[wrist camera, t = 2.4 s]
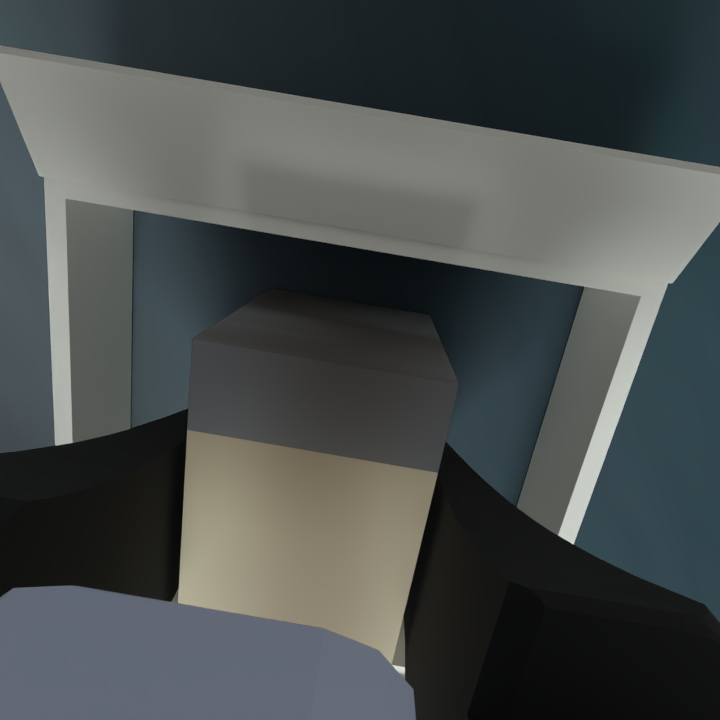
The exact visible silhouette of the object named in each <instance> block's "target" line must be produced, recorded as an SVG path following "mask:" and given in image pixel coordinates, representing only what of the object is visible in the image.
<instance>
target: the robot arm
mask: <svg viewBox="0 0 720 720" xmlns="http://www.w3.org/2000/svg"><path fill="white" fill-rule="evenodd" d="M187 425H188V409H186V410H183V411H180V412H178V413H175V414H172V415H170V416H167V417H164V418H161V419H158V420H155V421H152V422H149V423H146V424H143V425H140V426H137V427H134V428H131V429H128V430H124V431H121V432H117V433H114V434H110V435H106V436H102V437H97V438H93V439H89V440H84V441H80V442H75V443H69V444H63V445H57V446H50V447H44V448H38V449H31V450H25V451H17V452H8V453H0V720H720V623H719V622H718V620H717V619H716V618H715V617H714V615H713V614H712V613H711V612H710V610H709V609H708V608H707V607H706V606H705V605H704V604H702V603H699V602H697V601H694V600H692V599H690V598H687V597H685V596H682V595H680V594H677V593H675V592H672V591H670V590H668V589H665V588H663V587H660V586H658V585H655V584H653V583H650V582H648V581H646V580H643V579H641V578H638V577H636V576H634V575H632V574H630V573H628V572H626V571H624V570H622V569H620V568H617V567H615V566H613V565H611V564H609V563H607V562H605V561H603V560H601V559H599V558H597V557H595V556H593V555H592V554H590V553H588V552H586V551H584V550H582V549H580V548H578V547H577V546H575V545H573V544H572V543H570V542H568V541H567V540H565V539H563V538H562V537H560V536H558V535H557V534H555V533H553V532H551V531H550V530H548V529H547V528H545V527H544V526H542V525H541V524H539V523H538V522H536V521H535V520H533V519H532V518H531V517H529V516H528V515H526V514H525V513H524V512H522V511H521V510H519V509H518V508H517V507H515V506H514V505H513V504H511V503H510V502H509V501H508V500H506V499H505V498H504V497H503V496H501V495H500V494H499V493H498V492H497V491H496V490H495V489H493V488H492V487H491V486H490V485H489V484H488V483H486V482H485V481H484V480H483V479H482V478H481V477H480V476H479V475H478V474H477V473H476V472H475V471H474V470H473V469H472V468H471V467H470V466H469V465H468V464H467V463H466V462H465V461H464V460H463V459H462V458H461V457H460V456H459V455H458V454H457V453H456V452H455V451H454V450H453V449H452V448H451V447H450V446H449V445H448V444H447V443H446V442H445V446H444V450H443V454H442V459H441V463H440V467H439V471H438V475H437V479H436V483H435V487H434V492H433V496H432V500H431V504H430V508H429V512H428V516H427V521H426V525H425V529H424V533H423V537H422V541H421V545H420V549H419V554H418V558H417V562H416V566H415V570H414V574H413V578H412V583H411V587H410V591H409V595H408V599H407V603H406V607H405V611H404V616H403V618H404V633H405V679H404V678H403V677H402V676H401V675H400V674H399V672H398V671H397V670H396V669H395V668H394V667H393V666H392V665H391V663H390V662H389V661H388V660H387V659H386V658H385V657H384V655H383V654H382V653H381V652H380V651H379V650H377V649H375V648H373V647H370V646H368V645H365V644H363V643H360V642H358V641H355V640H353V639H350V638H348V637H345V636H342V635H340V634H337V633H335V632H332V631H330V630H327V629H325V628H320V627H314V626H308V625H302V624H297V623H291V622H285V621H279V620H273V619H268V618H262V617H256V616H250V615H244V614H239V613H233V612H227V611H221V610H215V609H209V608H204V607H198V606H192V605H186V604H180V603H175V602H172V600H173V598H174V596H175V594H176V592H177V590H178V589H179V574H180V555H181V537H182V518H183V500H184V481H185V462H186V444H187Z"/></svg>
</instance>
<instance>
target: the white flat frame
mask: <svg viewBox="0 0 720 720" xmlns="http://www.w3.org/2000/svg"><path fill="white" fill-rule="evenodd" d="M0 83H1V85H2V88H3V90H4V92H5V95H6V97H7V100H8V102H9V105H10V107H11V109H12V112H13V114H14V117H15V119H16V122H17V124H18V126H19V129H20V131H21V134H22V136H23V139H24V141H25V143H26V146H27V148H28V151H29V153H30V155H31V158H32V160H33V163H34V165H35V168H36V170H37V172H38V175H39V176H42V177H44V192H45V216H46V239H47V263H48V287H49V311H50V335H51V359H52V383H53V407H54V431H55V446H57V445H63V444H69V443H75V442H80V441H84V440H89V439H93V438H97V437H102V436H106V435H110V434H114V433H117V432H121V431H124V430H128V429H131V355H132V278H133V210H136V211H142V212H148V213H154V214H160V215H166V216H171V217H177V218H183V219H189V220H195V221H201V222H207V223H213V224H219V225H224V226H230V227H236V228H242V229H248V230H254V231H260V232H266V233H272V234H277V235H283V236H289V237H295V238H301V239H307V240H313V241H319V242H325V243H330V244H336V245H342V246H348V247H354V248H360V249H366V250H372V251H377V252H383V253H389V254H395V255H401V256H407V257H413V258H419V259H425V260H430V261H436V262H442V263H448V264H454V265H460V266H466V267H472V268H478V269H483V270H489V271H495V272H501V273H507V274H513V275H519V276H525V277H531V278H536V279H542V280H548V281H554V282H560V283H566V284H572V285H578V286H583V287H584V290H583V293H582V296H581V299H580V303H579V306H578V309H577V312H576V316H575V319H574V322H573V325H572V329H571V332H570V335H569V338H568V342H567V345H566V348H565V351H564V355H563V358H562V361H561V364H560V368H559V371H558V374H557V377H556V381H555V384H554V387H553V390H552V394H551V397H550V400H549V403H548V407H547V410H546V413H545V416H544V420H543V423H542V426H541V429H540V432H539V436H538V439H537V442H536V445H535V449H534V452H533V455H532V458H531V462H530V465H529V468H528V471H527V475H526V478H525V481H524V484H523V488H522V491H521V494H520V497H519V501H518V504H517V508H518V509H519V510H521V511H522V512H524V513H525V514H526V515H528V516H529V517H531V518H532V519H533V520H535V521H536V522H538V523H539V524H541V525H542V526H544V527H545V528H547V529H548V530H550V531H551V532H553V533H555V534H557V535H558V536H560V537H562V538H563V539H565V540H567V541H568V542H570V543H572V544H573V545H574V542H575V539H576V536H577V533H578V531H579V528H580V525H581V522H582V520H583V517H584V514H585V511H586V509H587V506H588V503H589V500H590V498H591V495H592V492H593V489H594V487H595V484H596V481H597V478H598V475H599V473H600V470H601V467H602V464H603V462H604V459H605V456H606V453H607V451H608V448H609V445H610V442H611V440H612V437H613V434H614V431H615V428H616V426H617V423H618V420H619V417H620V415H621V412H622V409H623V406H624V404H625V401H626V398H627V395H628V393H629V390H630V387H631V384H632V382H633V379H634V376H635V373H636V370H637V368H638V365H639V362H640V359H641V357H642V354H643V351H644V348H645V346H646V343H647V340H648V337H649V335H650V332H651V329H652V326H653V324H654V321H655V318H656V315H657V312H658V310H659V307H660V304H661V301H662V299H663V296H664V293H665V290H666V288H667V285H668V283H673V282H674V281H675V279H676V278H677V277H678V276H679V274H680V273H681V272H682V270H683V269H684V268H685V266H686V265H687V264H688V263H689V261H690V260H691V259H692V257H693V256H694V255H695V253H696V252H697V251H698V250H699V248H700V247H701V246H702V244H703V243H704V242H705V240H706V239H707V238H708V237H709V235H710V234H711V233H712V231H713V230H714V229H715V227H716V226H717V225H718V223H719V222H720V167H716V166H710V165H704V164H699V163H693V162H687V161H681V160H675V159H669V158H663V157H657V156H651V155H645V154H639V153H633V152H628V151H622V150H616V149H610V148H604V147H598V146H592V145H586V144H580V143H574V142H568V141H563V140H557V139H551V138H545V137H539V136H533V135H527V134H521V133H515V132H509V131H503V130H497V129H492V128H486V127H480V126H474V125H468V124H462V123H456V122H450V121H444V120H438V119H432V118H427V117H421V116H415V115H409V114H403V113H397V112H391V111H385V110H379V109H373V108H367V107H361V106H356V105H350V104H344V103H338V102H332V101H326V100H320V99H314V98H308V97H302V96H296V95H291V94H285V93H279V92H273V91H267V90H261V89H255V88H249V87H243V86H237V85H231V84H225V83H220V82H214V81H208V80H202V79H196V78H190V77H184V76H178V75H172V74H166V73H160V72H155V71H149V70H143V69H137V68H131V67H125V66H119V65H113V64H107V63H101V62H95V61H89V60H84V59H78V58H72V57H66V56H60V55H54V54H48V53H42V52H36V51H30V50H24V49H19V48H13V47H7V46H1V45H0ZM178 593H179V589H178V590H177V592H176V594H175V596H174V598H173V600H172V602H175V603H178ZM392 666H393V667H394V668H395V669H396V670H397V671H398V672H399V674H400V675H401V676H402V677H403V678H404V679H405V633H404V618H403V620H402V624H401V628H400V632H399V636H398V640H397V645H396V649H395V653H394V657H393V661H392Z"/></svg>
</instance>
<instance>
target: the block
mask: <svg viewBox="0 0 720 720" xmlns="http://www.w3.org/2000/svg"><path fill="white" fill-rule="evenodd" d="M458 388H459V383H458V380H457V378H456V376H455V373H454V371H453V369H452V366H451V364H450V361H449V359H448V357H447V354H446V352H445V350H444V347H443V345H442V343H441V340H440V338H439V336H438V333H437V331H436V329H435V326H434V324H433V322H432V319H431V317H430V315H428V314H422V313H416V312H410V311H405V310H399V309H393V308H387V307H381V306H375V305H369V304H363V303H358V302H352V301H346V300H340V299H334V298H328V297H322V296H316V295H311V294H305V293H299V292H293V291H287V290H281V289H275V288H270V289H269V290H267V291H266V292H264V293H262V294H261V295H259V296H258V297H256V298H255V299H253V300H252V301H250V302H249V303H247V304H245V305H244V306H242V307H241V308H239V309H238V310H236V311H235V312H233V313H232V314H230V315H228V316H227V317H225V318H224V319H222V320H221V321H219V322H218V323H216V324H215V325H213V326H212V327H210V328H208V329H207V330H205V331H204V332H202V333H201V334H199V335H198V336H196V337H195V338H193V339H192V351H191V369H190V388H189V407H188V425H187V444H186V462H185V481H184V500H183V518H182V537H181V555H180V574H179V593H178V603H180V604H186V605H192V606H198V607H204V608H209V609H215V610H221V611H227V612H233V613H239V614H244V615H250V616H256V617H262V618H268V619H273V620H279V621H285V622H291V623H297V624H302V625H308V626H314V627H320V628H325V629H327V630H330V631H332V632H335V633H337V634H340V635H342V636H345V637H348V638H350V639H353V640H355V641H358V642H360V643H363V644H365V645H368V646H370V647H373V648H375V649H377V650H379V651H380V652H381V653H382V654H383V655H384V657H385V658H386V659H387V660H388V661H389V662H390V663H391V665H392V661H393V657H394V653H395V649H396V645H397V640H398V636H399V632H400V628H401V624H402V620H403V616H404V611H405V607H406V603H407V599H408V595H409V591H410V587H411V583H412V578H413V574H414V570H415V566H416V562H417V558H418V554H419V549H420V545H421V541H422V537H423V533H424V529H425V525H426V521H427V516H428V512H429V508H430V504H431V500H432V496H433V492H434V487H435V483H436V479H437V475H438V471H439V467H440V463H441V459H442V454H443V450H444V446H445V442H446V438H447V434H448V430H449V425H450V421H451V417H452V413H453V409H454V405H455V401H456V397H457V392H458Z"/></svg>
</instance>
